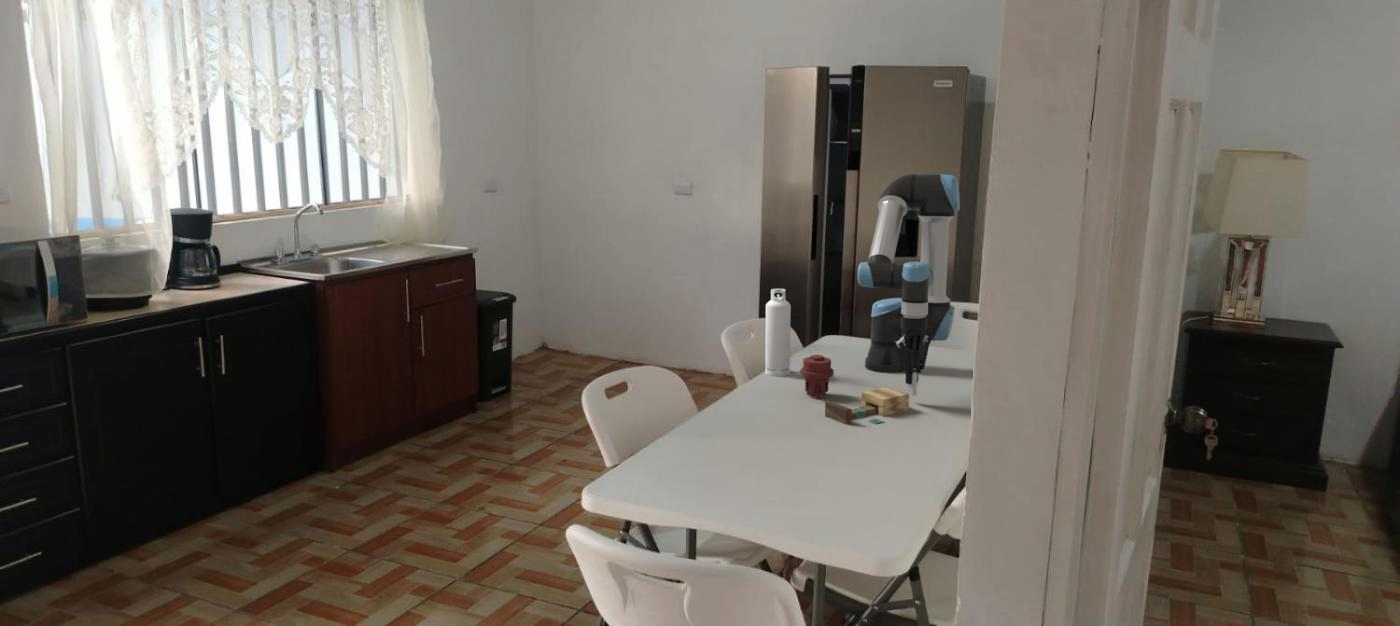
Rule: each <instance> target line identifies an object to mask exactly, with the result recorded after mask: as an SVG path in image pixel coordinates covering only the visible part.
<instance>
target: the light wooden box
mask: <svg viewBox="0 0 1400 626" xmlns="http://www.w3.org/2000/svg"><path fill="white" fill-rule="evenodd" d="M860 399H861V402H860V403H861V405H860V407H865V406H870V405H877V406H878V413H877V415H878V416H881V417H884V416H888V415H894V414H899V413H903V412H907V411H909V405H910V403H909V402H910V401H909V399H910V394H907V393H906V392H903V391H901V390H897V389H894V388H893V387H892V388H891V387H889V386H886V387H881V388H875V389H871V390H865V391H862V392H861V398H860Z"/></svg>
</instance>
